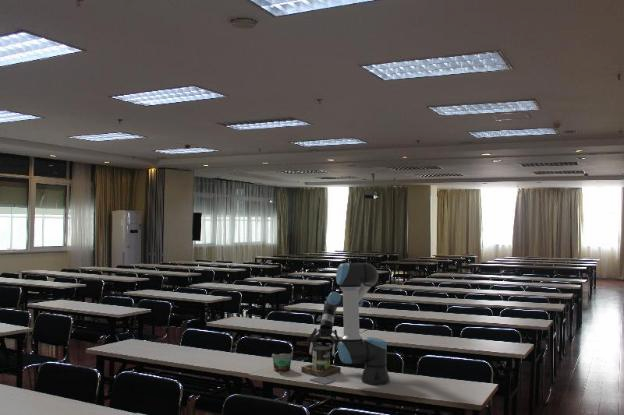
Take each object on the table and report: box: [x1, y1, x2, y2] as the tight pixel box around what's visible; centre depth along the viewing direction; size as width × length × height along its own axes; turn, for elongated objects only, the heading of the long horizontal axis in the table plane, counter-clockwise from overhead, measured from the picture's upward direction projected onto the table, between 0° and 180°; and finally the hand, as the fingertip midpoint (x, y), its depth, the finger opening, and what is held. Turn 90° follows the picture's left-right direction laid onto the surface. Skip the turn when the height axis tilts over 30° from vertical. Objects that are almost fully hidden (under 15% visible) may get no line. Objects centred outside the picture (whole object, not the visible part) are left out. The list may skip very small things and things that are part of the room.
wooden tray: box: [301, 364, 342, 378], centre depth 340 cm, size 16×16×3 cm
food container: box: [271, 352, 293, 373], centre depth 342 cm, size 12×6×10 cm, turn 106°
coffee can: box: [311, 345, 331, 371], centre depth 340 cm, size 10×10×14 cm
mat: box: [309, 376, 336, 386], centre depth 322 cm, size 11×9×1 cm
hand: (321, 353), depth 344 cm, fingers open, 13 cm apart
